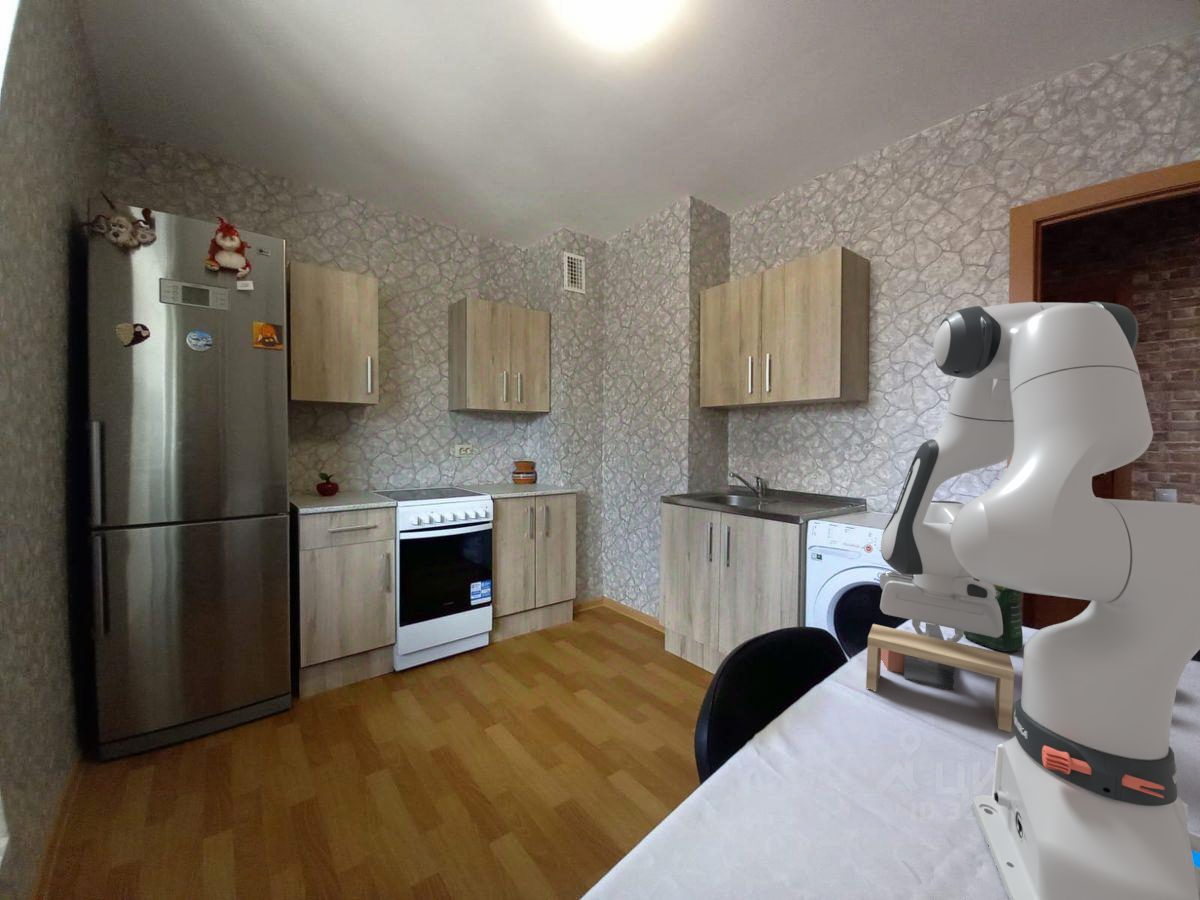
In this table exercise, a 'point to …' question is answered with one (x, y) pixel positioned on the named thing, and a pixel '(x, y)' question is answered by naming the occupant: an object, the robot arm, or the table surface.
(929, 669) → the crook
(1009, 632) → the coffee jar
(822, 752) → the table surface
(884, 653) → the block
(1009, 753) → the robot arm
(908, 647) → the bridge
